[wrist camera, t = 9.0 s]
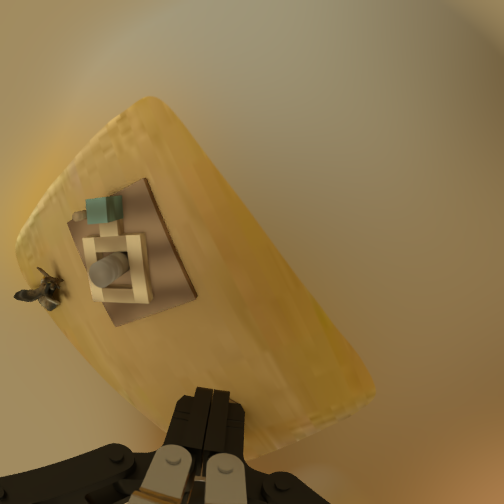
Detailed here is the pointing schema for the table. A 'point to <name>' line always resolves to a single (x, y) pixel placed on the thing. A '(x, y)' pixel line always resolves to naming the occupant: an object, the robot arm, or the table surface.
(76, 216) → the dowel pin
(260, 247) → the table surface
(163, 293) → the post board
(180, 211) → the table surface
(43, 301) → the brown squirrel figurine
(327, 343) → the table surface
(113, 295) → the square frame with handle
